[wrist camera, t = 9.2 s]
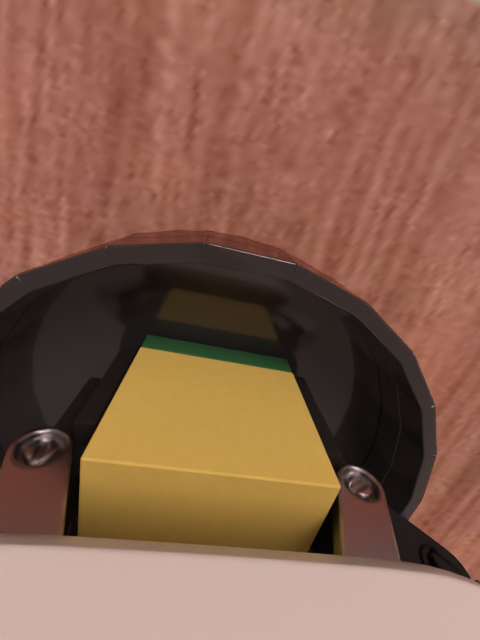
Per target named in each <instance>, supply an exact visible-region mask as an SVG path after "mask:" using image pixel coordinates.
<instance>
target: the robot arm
mask: <svg viewBox="0 0 480 640" xmlns="http://www.w3.org/2000/svg"><path fill="white" fill-rule="evenodd" d="M137 352H138V349H134V348H128V347H122V349H121V350H120V352H119V353H118V355H117V356H116V358H115V359H114V361H113V362H112V364H111V365H110V367H109V368H108V370H107V372H106V373H105V375H104V376H103V378H102V379H101V378H95V377H91V378H90V379H89V380H88V381H87V382H86V384H85V385H84V387H83V388H82V389H81V391H80V392H79V393H78V395H77V396H76V398H75V399H74V400H73V402H72V403H71V404H70V406H69V407H68V409H67V410H66V411H65V413H64V414H63V415H62V417H61V418H60V420H59V421H58V422H57V424H56V425H55V426H54V427H42V428H37V429H34V430H31V431H28V432H26V433H24V434H23V435H21V436H19V437H18V438H17V439H16V440H14V441H13V442H12V443H11V444H10V446H9V448H8V450H7V451H6V454H5V457H4V460H1V461H0V640H480V582H479V581H478V580H476V581H473V580H471V579H470V576H469V575H468V573H467V571H466V570H465V568H464V567H463V566H462V564H461V563H460V562H459V561H458V560H457V559H456V558H455V557H454V556H453V555H452V554H451V553H450V552H449V551H448V550H446V549H445V548H444V547H442V546H441V545H440V544H438V543H437V542H436V541H434V540H433V539H432V538H430V537H429V536H428V535H426V534H425V533H424V532H422V531H421V530H420V529H418V528H417V527H416V526H414V525H413V524H412V523H410V522H409V521H408V520H406V519H405V518H404V517H402V516H401V515H400V514H398V513H397V512H396V511H394V510H393V509H392V508H390V507H389V506H388V505H387V501H386V497H385V493H384V490H383V488H382V486H381V484H380V483H379V481H378V480H377V479H376V478H375V477H374V476H373V475H372V474H371V473H370V472H368V471H367V470H366V469H364V468H362V467H360V466H358V465H354V464H346V462H345V460H344V458H343V456H342V454H341V452H340V450H339V448H338V446H337V444H336V441H335V439H334V437H333V435H332V433H331V431H330V429H329V427H328V425H327V423H326V421H325V419H324V417H323V415H322V413H321V412H320V410H319V408H318V406H317V404H316V402H315V400H314V398H313V396H312V393H311V391H310V389H309V387H308V385H307V383H306V381H305V379H304V377H299V376H294V378H295V380H296V382H297V385H298V387H299V389H300V392H301V394H302V396H303V399H304V401H305V404H306V406H307V408H308V411H309V413H310V415H311V418H312V420H313V422H314V425H315V427H316V429H317V432H318V434H319V437H320V439H321V441H322V444H323V446H324V448H325V451H326V453H327V455H328V458H329V460H330V462H331V465H332V467H333V470H334V472H335V474H336V477H337V479H338V481H339V484H340V490H339V492H338V494H337V496H336V498H335V500H334V502H333V504H332V506H331V508H330V510H329V512H328V514H327V516H326V517H325V519H324V521H323V523H322V525H321V527H320V529H319V531H318V533H317V535H316V537H315V539H314V541H313V543H312V545H311V547H310V548H309V550H308V552H307V553H306V552H293V551H280V550H267V549H253V548H240V547H226V546H212V545H198V544H184V543H170V542H155V541H140V540H125V539H110V538H95V537H80V536H70V527H71V521H72V520H73V519H75V518H77V517H78V508H79V484H80V459H81V456H82V455H83V453H84V451H85V449H86V447H87V445H88V443H89V442H90V440H91V438H92V436H93V434H94V432H95V430H96V429H97V427H98V425H99V423H100V421H101V419H102V417H103V416H104V414H105V412H106V410H107V408H108V406H109V404H110V403H111V401H112V399H113V397H114V395H115V393H116V391H117V390H118V388H119V386H120V384H121V382H122V380H123V378H124V377H125V375H126V373H127V371H128V369H129V367H130V365H131V364H132V362H133V360H134V358H135V356H136V354H137Z"/></svg>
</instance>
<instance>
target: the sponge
mask: <svg viewBox="0 0 480 640" xmlns="http://www.w3.org/2000/svg"><path fill="white" fill-rule="evenodd" d="M339 490H340V484H339V481H338V479H337V477H336V474H335V472H334V470H333V467H332V465H331V462H330V460H329V458H328V455H327V453H326V451H325V448H324V446H323V444H322V441H321V439H320V437H319V434H318V432H317V429H316V427H315V425H314V422H313V420H312V418H311V415H310V413H309V411H308V408H307V406H306V404H305V401H304V399H303V396H302V394H301V392H300V389H299V387H298V385H297V382H296V380H295V378H294V375H293V373H292V371H291V369H290V366H289V364H288V362H287V360H286V359H283V358H277V357H271V356H266V355H260V354H255V353H249V352H243V351H238V350H232V349H226V348H221V347H215V346H209V345H204V344H198V343H193V342H187V341H181V340H176V339H170V338H164V337H159V336H153V335H147V336H146V338H145V340H144V342H143V344H142V345H141V347H140V349H139V351H138V352H137V354H136V356H135V358H134V360H133V362H132V364H131V365H130V367H129V369H128V371H127V373H126V375H125V377H124V378H123V380H122V382H121V384H120V386H119V388H118V390H117V391H116V393H115V395H114V397H113V399H112V401H111V403H110V404H109V406H108V408H107V410H106V412H105V414H104V416H103V417H102V419H101V421H100V423H99V425H98V427H97V429H96V430H95V432H94V434H93V436H92V438H91V440H90V442H89V443H88V445H87V447H86V449H85V451H84V453H83V455H82V456H81V459H80V484H79V508H78V533H77V536H80V537H95V538H110V539H125V540H140V541H155V542H170V543H184V544H198V545H212V546H226V547H240V548H253V549H267V550H280V551H293V552H306V553H307V552H308V550H309V548H310V547H311V545H312V543H313V541H314V539H315V537H316V535H317V533H318V531H319V529H320V527H321V525H322V523H323V521H324V519H325V517H326V516H327V514H328V512H329V510H330V508H331V506H332V504H333V502H334V500H335V498H336V496H337V494H338V492H339Z"/></svg>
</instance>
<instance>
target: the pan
mask: <svg viewBox="0 0 480 640" xmlns="http://www.w3.org/2000/svg"><path fill="white" fill-rule="evenodd" d="M147 335H153V336H159V337H164V338H170V339H176V340H181V341H187V342H193V343H198V344H204V345H209V346H215V347H221V348H226V349H232V350H238V351H243V352H249V353H255V354H260V355H266V356H271V357H277V358H283V359H286V360H287V362H288V364H289V366H290V369H291V371H292V373H293V375H294V376H299V377H304V379H305V381H306V383H307V385H308V387H309V389H310V391H311V393H312V396H313V398H314V400H315V402H316V404H317V406H318V408H319V410H320V412H321V413H322V415H323V417H324V419H325V421H326V423H327V425H328V427H329V429H330V431H331V433H332V435H333V437H334V439H335V441H336V444H337V446H338V448H339V450H340V452H341V454H342V456H343V458H344V460H345V462H346V464H354V465H358V466H360V467H362V468H364V469H366V470H367V471H368V472H370V473H371V474H372V475H373V476H374V477H375V478H376V479H377V480H378V481H379V483H380V484H381V486H382V488H383V490H384V493H385V497H386V501H387V505H388V506H389V507H390V508H392V509H393V510H394V511H396V512H397V513H398V514H400V515H401V516H402V517H404V518H405V519H406V520H409V518H410V517H411V515H412V514H413V512H414V511H415V509H416V508H417V506H418V505H419V504H420V502H421V501H422V499H423V496H424V493H425V490H426V487H427V484H428V480H429V477H430V474H431V471H432V468H433V465H434V462H435V459H436V454H437V447H436V407H435V403H434V401H433V398H432V396H431V393H430V391H429V389H428V386H427V384H426V381H425V379H424V377H423V374H422V372H421V369H420V367H419V364H418V362H417V360H416V357H415V355H414V353H413V351H412V350H411V349H410V348H409V347H408V346H407V345H406V344H405V343H404V342H403V340H402V339H401V338H400V337H399V336H398V335H397V334H396V333H395V332H394V331H393V330H392V329H391V327H390V326H389V325H388V324H387V323H386V322H385V321H384V320H383V319H382V318H381V317H380V315H379V314H378V313H377V312H376V311H375V310H374V309H373V308H372V307H371V306H370V305H369V304H368V303H367V302H366V301H364V300H363V299H361V298H360V297H358V296H357V295H356V294H354V293H353V292H351V291H350V290H348V289H347V288H345V287H344V286H343V285H341V284H340V283H338V282H337V281H335V280H334V279H332V278H331V277H329V276H328V275H326V274H324V273H322V272H321V271H319V270H317V269H315V268H313V267H312V266H310V265H308V264H307V263H305V262H304V261H302V260H301V259H298V258H296V257H294V256H292V255H291V254H289V253H287V252H285V251H283V250H282V249H280V248H277V247H275V246H271V245H267V244H264V243H261V242H257V241H254V240H251V239H248V238H245V237H241V236H235V235H229V234H223V233H217V232H213V231H188V230H172V231H162V232H152V233H138V234H137V233H136V234H133V235H130V236H127V237H123V238H120V239H117V240H114V241H110V242H107V243H105V244H102V245H99V246H95V247H92V248H89V249H86V250H83V251H80V252H77V253H74V254H71V255H68V256H65V257H63V258H60V259H57V260H54V261H52V262H49V263H46V264H44V265H41V266H38V267H35V268H33V269H30V270H27V271H25V272H22V273H19V274H18V275H15V276H14V277H12V278H11V279H9V280H8V281H7V282H5V283H4V284H3V285H1V286H0V461H1V460H4V457H5V454H6V451H7V450H8V448H9V446H10V444H11V443H12V442H13V441H14V440H16V439H17V438H18V437H19V436H21V435H23V434H24V433H26V432H28V431H31V430H34V429H37V428H42V427H54V426H55V425H56V424H57V422H58V421H59V420H60V418H61V417H62V415H63V414H64V413H65V411H66V410H67V409H68V407H69V406H70V404H71V403H72V402H73V400H74V399H75V398H76V396H77V395H78V393H79V392H80V391H81V389H82V388H83V387H84V385H85V384H86V382H87V381H88V380H89V379H90V378H91V377H95V378H101V379H102V378H103V376H104V375H105V373H106V372H107V370H108V368H109V367H110V365H111V364H112V362H113V361H114V359H115V358H116V356H117V355H118V353H119V352H120V350H121V349H122V347H128V348H134V349H138V351H139V349H140V347H141V345H142V344H143V342H144V340H145V338H146V336H147ZM77 533H78V517H77V518H75V519H73V520H72V521H71V527H70V536H77Z"/></svg>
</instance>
